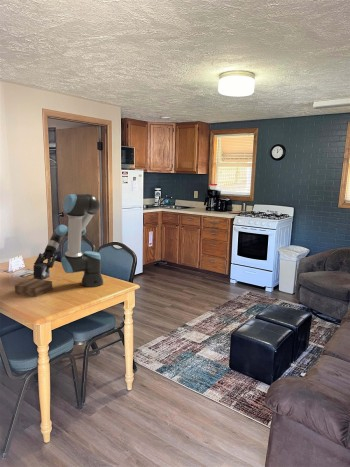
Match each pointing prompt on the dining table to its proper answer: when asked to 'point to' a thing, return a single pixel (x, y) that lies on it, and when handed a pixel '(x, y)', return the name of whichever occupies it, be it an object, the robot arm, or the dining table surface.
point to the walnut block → (33, 287)
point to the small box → (40, 271)
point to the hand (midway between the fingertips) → (38, 275)
